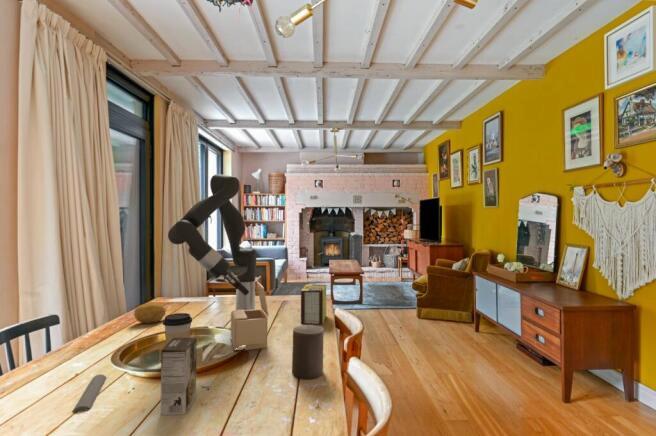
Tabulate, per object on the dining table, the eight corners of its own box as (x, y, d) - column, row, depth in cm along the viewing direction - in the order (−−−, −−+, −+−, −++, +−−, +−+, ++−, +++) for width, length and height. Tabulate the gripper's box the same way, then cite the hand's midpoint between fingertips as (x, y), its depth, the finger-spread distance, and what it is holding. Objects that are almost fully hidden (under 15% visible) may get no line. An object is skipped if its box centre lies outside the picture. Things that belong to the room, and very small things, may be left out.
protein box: (326, 315, 179) (326, 284, 179) (322, 324, 163) (323, 290, 163) (305, 315, 180) (305, 284, 180) (300, 323, 164) (300, 290, 164)
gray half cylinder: (107, 379, 108) (107, 373, 108) (91, 411, 90) (91, 404, 90) (91, 381, 106) (91, 375, 106) (70, 415, 88) (70, 407, 88)
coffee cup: (198, 357, 123) (198, 314, 123) (176, 367, 115) (176, 321, 115) (178, 353, 127) (178, 311, 127) (155, 362, 119) (155, 317, 119)
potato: (168, 302, 165) (162, 297, 172) (136, 308, 157) (131, 302, 164) (168, 322, 166) (163, 316, 173) (137, 329, 158) (132, 322, 165)
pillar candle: (299, 382, 105) (300, 331, 106) (287, 369, 114) (288, 322, 114) (328, 376, 110) (329, 327, 110) (314, 364, 119) (315, 319, 119)
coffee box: (172, 397, 96) (173, 337, 96) (197, 396, 97) (197, 336, 97) (159, 415, 87) (159, 349, 87) (186, 414, 87) (187, 348, 88)
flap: (261, 307, 147) (256, 281, 146) (262, 307, 147) (258, 281, 146) (267, 316, 134) (262, 287, 133) (269, 316, 134) (264, 287, 134)
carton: (230, 338, 143) (230, 309, 143) (260, 335, 147) (260, 307, 147) (234, 351, 129) (234, 319, 129) (267, 347, 133) (267, 316, 133)
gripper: (222, 257, 129) (256, 289, 133) (220, 254, 141) (251, 283, 145) (207, 272, 127) (242, 304, 131) (206, 268, 139) (238, 297, 143)
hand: (247, 293), depth 138 cm, fingers closed
